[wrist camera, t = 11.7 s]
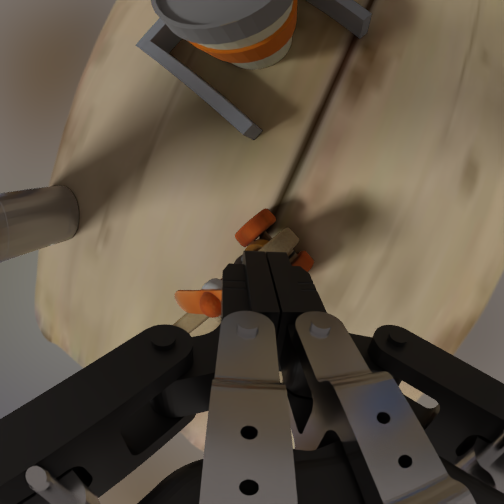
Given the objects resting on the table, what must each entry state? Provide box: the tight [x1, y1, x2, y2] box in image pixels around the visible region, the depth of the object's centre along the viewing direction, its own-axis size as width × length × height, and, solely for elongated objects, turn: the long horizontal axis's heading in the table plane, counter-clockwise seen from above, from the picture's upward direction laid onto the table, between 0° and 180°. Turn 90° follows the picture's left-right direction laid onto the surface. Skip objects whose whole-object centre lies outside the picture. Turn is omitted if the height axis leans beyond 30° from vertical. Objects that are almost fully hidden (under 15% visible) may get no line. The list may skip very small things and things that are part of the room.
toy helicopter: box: [173, 209, 314, 333], centre depth 32 cm, size 8×21×14 cm, turn 133°
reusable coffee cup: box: [151, 0, 297, 70], centre depth 24 cm, size 13×13×15 cm
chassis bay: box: [136, 0, 372, 140], centre depth 28 cm, size 19×20×6 cm
